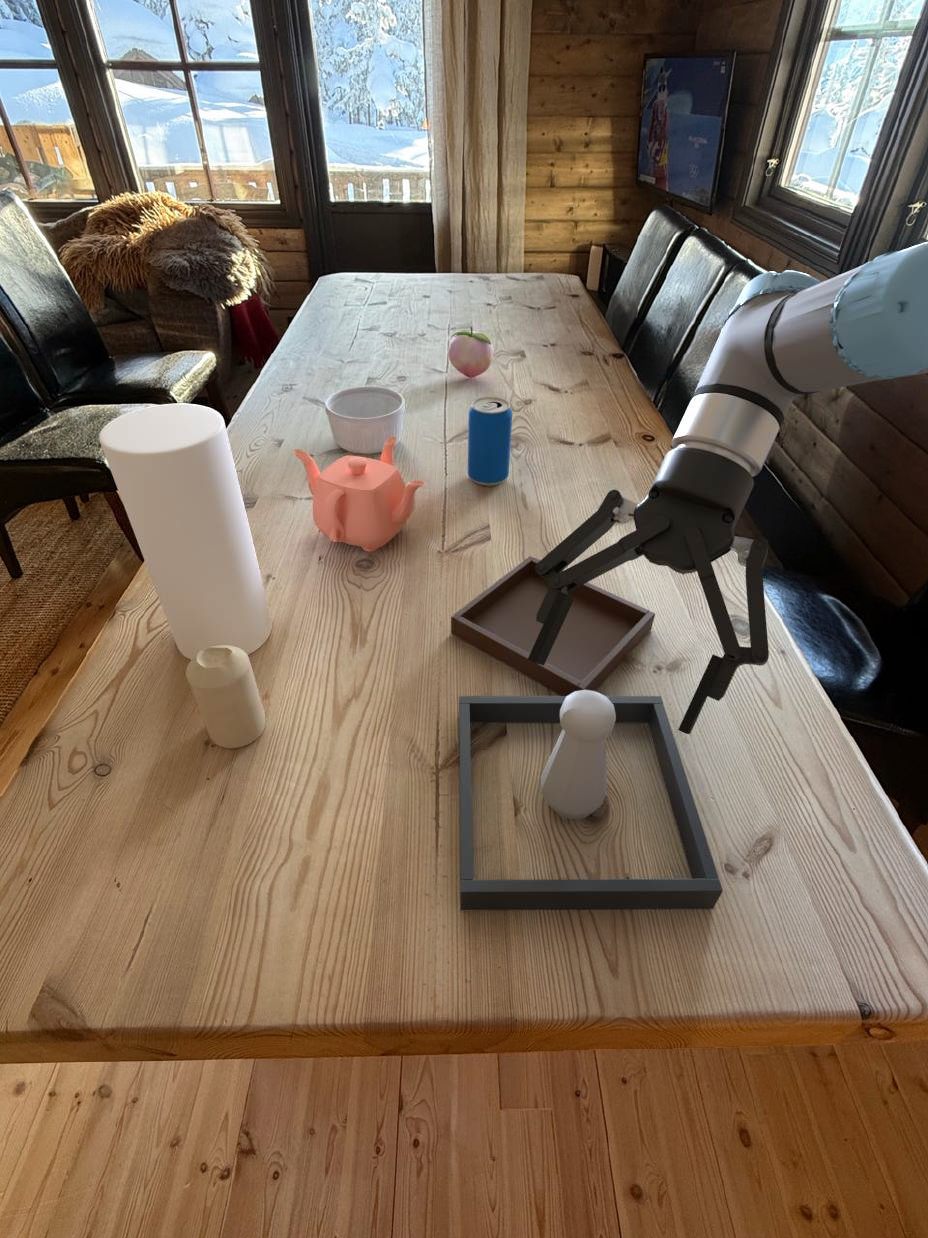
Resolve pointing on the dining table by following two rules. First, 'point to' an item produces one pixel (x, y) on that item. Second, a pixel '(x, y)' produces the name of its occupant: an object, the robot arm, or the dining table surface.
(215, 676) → the candle
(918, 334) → the robot arm
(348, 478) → the teapot
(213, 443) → the tall pillar cylinder
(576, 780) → the salt shaker
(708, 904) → the open gray frame
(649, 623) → the tray
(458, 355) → the decorative fruit
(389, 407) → the ramekin
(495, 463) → the beverage can
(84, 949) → the dining table surface
